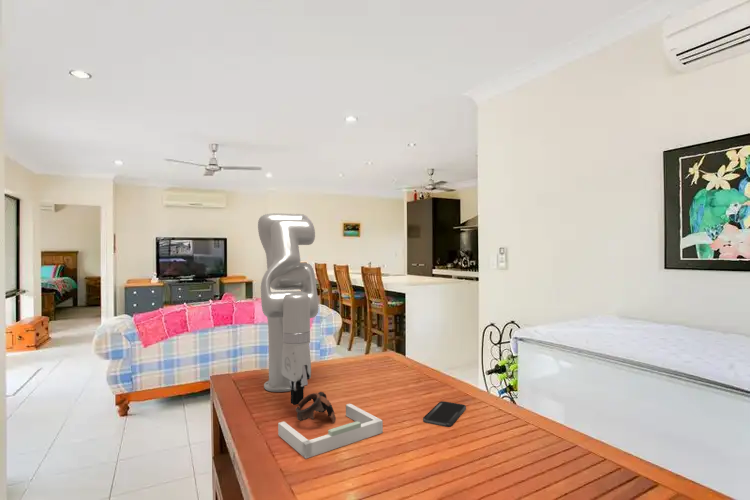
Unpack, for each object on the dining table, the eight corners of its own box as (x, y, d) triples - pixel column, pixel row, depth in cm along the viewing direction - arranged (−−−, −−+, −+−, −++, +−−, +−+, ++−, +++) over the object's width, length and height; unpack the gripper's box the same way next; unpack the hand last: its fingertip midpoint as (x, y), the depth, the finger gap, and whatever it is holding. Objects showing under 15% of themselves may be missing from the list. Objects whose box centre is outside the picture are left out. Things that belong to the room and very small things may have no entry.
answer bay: (278, 435, 100) (278, 418, 100) (350, 414, 112) (350, 399, 112) (305, 458, 88) (305, 440, 88) (382, 432, 101) (382, 416, 101)
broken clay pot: (336, 430, 104) (320, 404, 102) (304, 444, 105) (287, 419, 103) (341, 401, 115) (327, 378, 114) (312, 414, 117) (297, 392, 115)
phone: (421, 419, 107) (440, 400, 120) (421, 423, 107) (440, 404, 120) (450, 424, 103) (467, 405, 116) (450, 429, 103) (467, 409, 116)
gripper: (273, 335, 119) (274, 399, 119) (296, 343, 107) (296, 414, 107) (297, 332, 123) (297, 393, 123) (321, 340, 111) (321, 408, 111)
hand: (297, 403), depth 115 cm, fingers closed
